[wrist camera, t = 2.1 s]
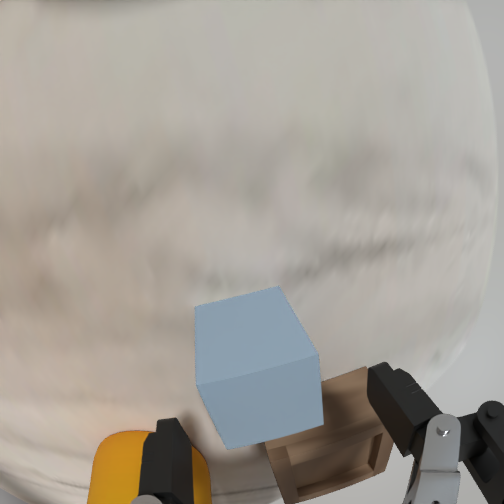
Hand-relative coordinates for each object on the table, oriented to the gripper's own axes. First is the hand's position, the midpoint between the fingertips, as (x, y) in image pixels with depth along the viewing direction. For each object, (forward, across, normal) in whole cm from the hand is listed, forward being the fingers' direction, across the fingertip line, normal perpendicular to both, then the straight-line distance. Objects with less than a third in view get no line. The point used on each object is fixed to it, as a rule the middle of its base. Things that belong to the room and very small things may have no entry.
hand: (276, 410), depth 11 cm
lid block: (+6, 0, 0) cm, 6 cm away
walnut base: (+6, -3, +10) cm, 12 cm away
